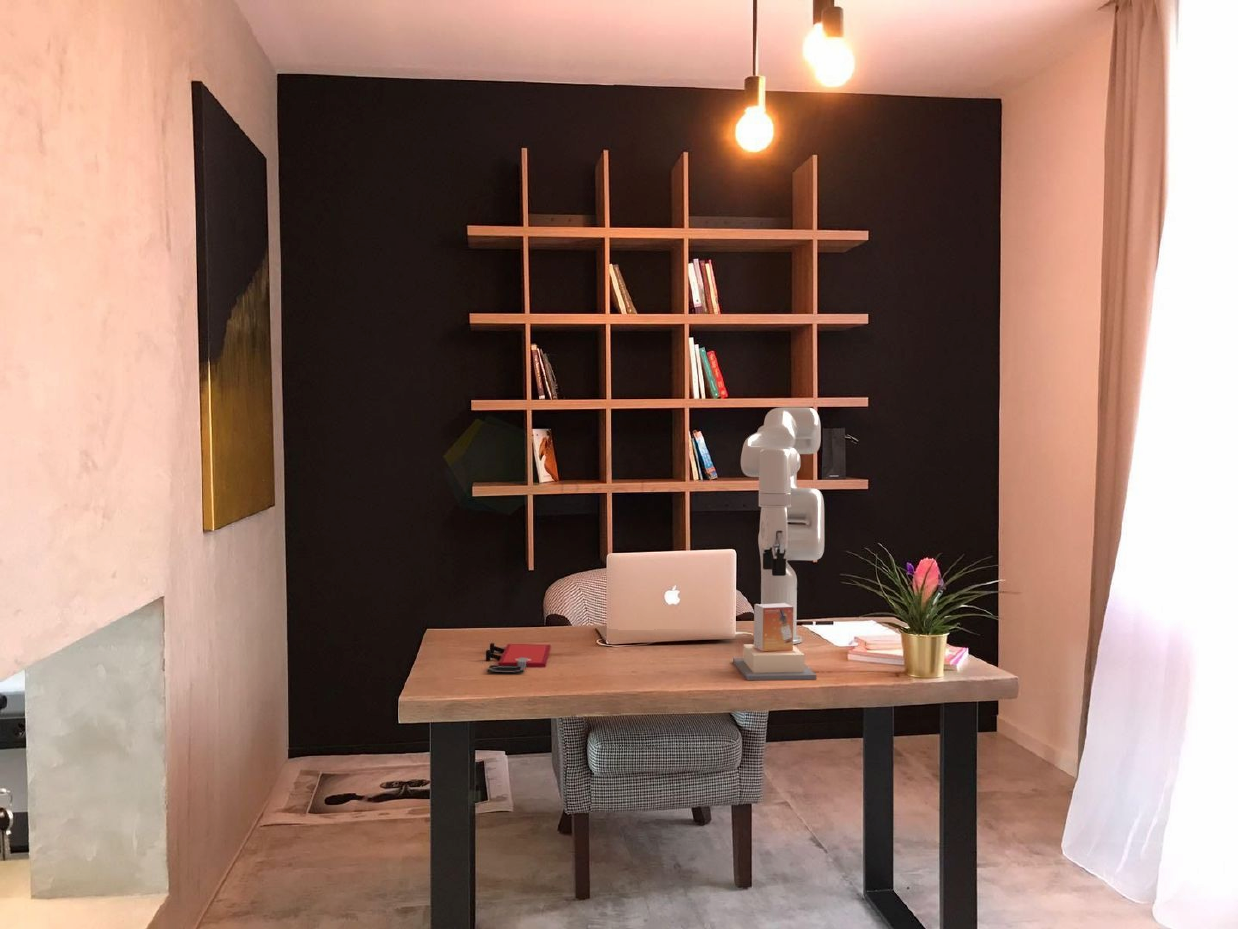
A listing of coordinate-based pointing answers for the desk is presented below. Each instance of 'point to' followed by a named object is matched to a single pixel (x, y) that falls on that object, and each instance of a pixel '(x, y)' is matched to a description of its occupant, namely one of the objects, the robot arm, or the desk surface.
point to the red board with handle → (518, 657)
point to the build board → (772, 675)
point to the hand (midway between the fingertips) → (774, 572)
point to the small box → (773, 627)
